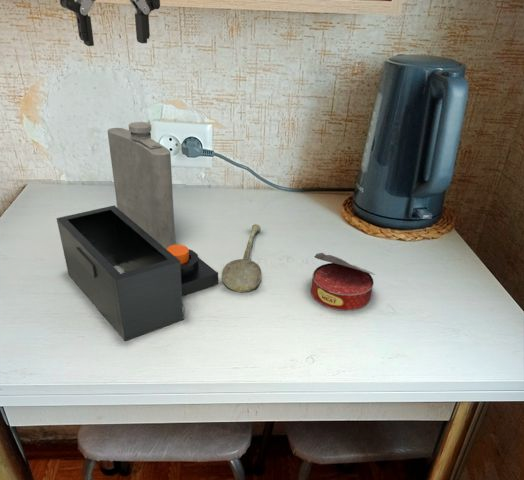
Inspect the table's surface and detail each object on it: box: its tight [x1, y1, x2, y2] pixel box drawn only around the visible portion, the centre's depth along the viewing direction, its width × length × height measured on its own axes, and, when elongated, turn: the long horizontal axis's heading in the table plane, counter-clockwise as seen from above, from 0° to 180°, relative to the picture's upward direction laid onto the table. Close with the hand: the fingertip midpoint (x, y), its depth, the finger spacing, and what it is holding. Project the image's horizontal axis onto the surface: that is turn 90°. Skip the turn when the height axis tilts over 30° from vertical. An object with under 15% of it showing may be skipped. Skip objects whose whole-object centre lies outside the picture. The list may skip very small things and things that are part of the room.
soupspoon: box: [221, 223, 262, 293], centre depth 90 cm, size 22×3×7 cm
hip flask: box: [107, 121, 176, 249], centre depth 89 cm, size 16×4×20 cm, turn 44°
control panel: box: [180, 248, 219, 297], centre depth 83 cm, size 9×10×4 cm
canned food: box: [310, 252, 376, 312], centre depth 82 cm, size 11×10×10 cm
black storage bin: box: [56, 205, 184, 342], centre depth 76 cm, size 10×21×10 cm, turn 37°
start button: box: [167, 244, 189, 264], centre depth 82 cm, size 4×4×2 cm
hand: (116, 43), depth 77 cm, fingers open, 8 cm apart
